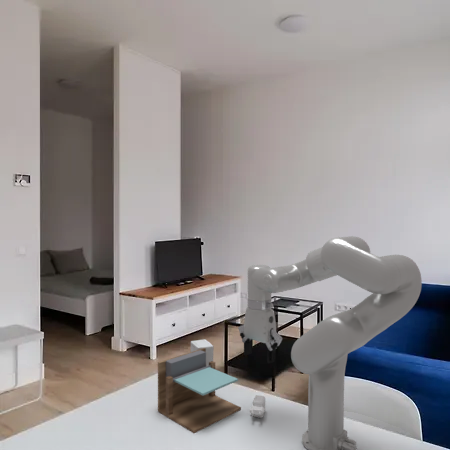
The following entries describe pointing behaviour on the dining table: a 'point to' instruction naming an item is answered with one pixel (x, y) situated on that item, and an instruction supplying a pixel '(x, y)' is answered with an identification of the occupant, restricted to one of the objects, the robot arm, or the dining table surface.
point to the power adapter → (258, 407)
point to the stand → (190, 402)
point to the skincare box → (200, 345)
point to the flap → (197, 373)
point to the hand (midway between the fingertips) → (259, 358)
